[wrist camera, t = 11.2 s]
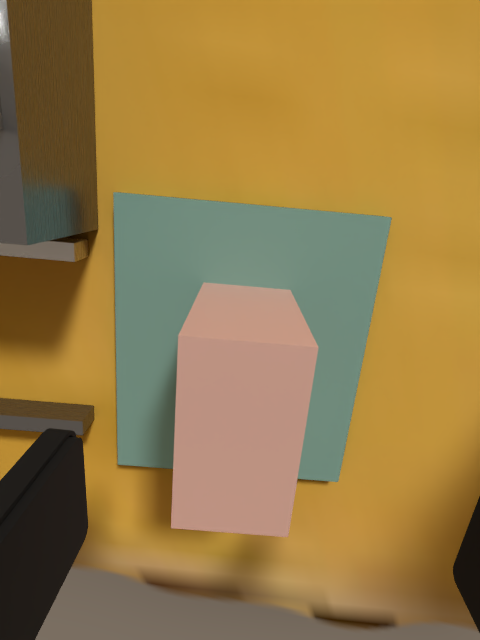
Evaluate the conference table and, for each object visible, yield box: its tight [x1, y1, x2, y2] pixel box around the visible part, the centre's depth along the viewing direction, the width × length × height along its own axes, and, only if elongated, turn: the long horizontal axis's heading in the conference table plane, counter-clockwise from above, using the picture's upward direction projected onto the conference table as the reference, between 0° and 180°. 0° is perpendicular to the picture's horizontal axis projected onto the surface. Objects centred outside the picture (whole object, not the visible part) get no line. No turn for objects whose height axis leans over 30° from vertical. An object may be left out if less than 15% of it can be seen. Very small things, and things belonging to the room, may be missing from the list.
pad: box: [114, 192, 391, 482], centre depth 19 cm, size 12×14×1 cm
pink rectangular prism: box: [171, 282, 319, 537], centre depth 15 cm, size 4×7×7 cm, turn 175°
